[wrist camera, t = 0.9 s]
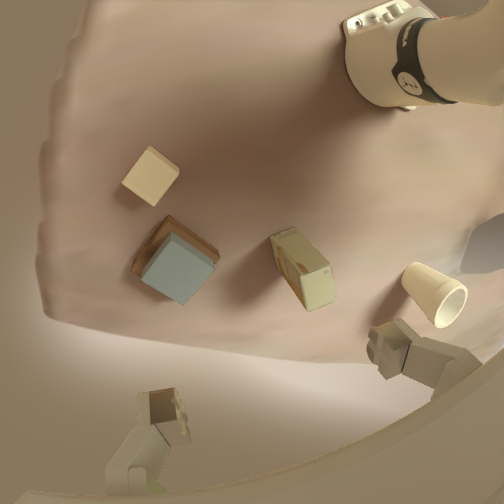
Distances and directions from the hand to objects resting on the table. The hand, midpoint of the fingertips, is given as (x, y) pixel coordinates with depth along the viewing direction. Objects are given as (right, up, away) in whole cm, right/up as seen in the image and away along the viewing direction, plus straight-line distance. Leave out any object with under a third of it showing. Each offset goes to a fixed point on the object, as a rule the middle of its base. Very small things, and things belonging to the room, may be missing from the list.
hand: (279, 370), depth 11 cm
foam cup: (+33, 0, +47) cm, 57 cm away
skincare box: (+4, +5, +37) cm, 37 cm away
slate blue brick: (-11, +3, +30) cm, 32 cm away
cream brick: (-14, +15, +27) cm, 34 cm away
